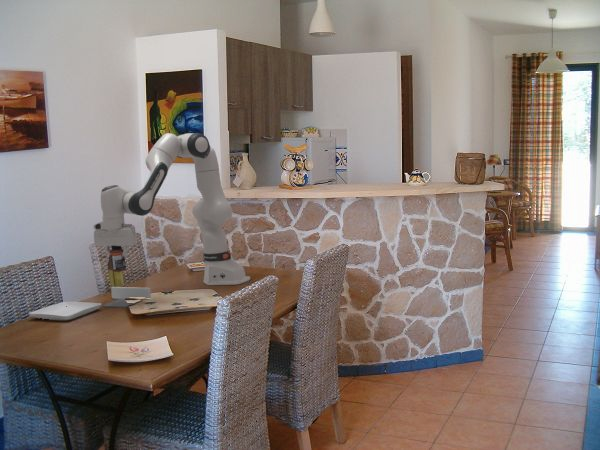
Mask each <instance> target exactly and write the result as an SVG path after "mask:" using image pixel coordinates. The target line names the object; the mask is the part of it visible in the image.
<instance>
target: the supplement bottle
mask: <svg viewBox="0 0 600 450" xmlns="http://www.w3.org/2000/svg"><path fill="white" fill-rule="evenodd" d="M110 248H112V250H111V251H110V259H111V267H112V271H113V272H121V271H122V272H123V271H126V270H127V265H126V258H125V257H126V256H122V252H123V251H124V249H123V247H122V246H110Z"/></svg>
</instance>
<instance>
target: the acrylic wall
mask: <svg viewBox="0 0 600 450" xmlns="http://www.w3.org/2000/svg"><path fill="white" fill-rule="evenodd" d="M110 291H111V298H112V299H116V300H118V299H125V298H129V297H145V298H151V299H152V297H151V296H152V295H151V287H138V286H137V287H131V286H130V287H129V286H124V287H111V286H110Z"/></svg>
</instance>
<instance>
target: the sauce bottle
mask: <svg viewBox="0 0 600 450" xmlns="http://www.w3.org/2000/svg"><path fill="white" fill-rule="evenodd" d="M110 250H112V247H110ZM107 269H108V276H109V284H110V285H109V286H110V288H111V287H125V282H124V281H125V280H124V275H123V274H124V273H123V271H121V272H113V271H112V267H111V259H110V256H108V262H107Z"/></svg>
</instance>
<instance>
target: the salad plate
mask: <svg viewBox="0 0 600 450" xmlns="http://www.w3.org/2000/svg"><path fill="white" fill-rule="evenodd" d="M102 304H103V303H101V302H100V303H99V302H83V301H63V302H59V303H58V302H57V303H55V304H52V305H49V306H45V307H43V308H40V309H36V310H34V311H31V312H28V315H29V316H31V317H32V318H36V319H40V318H42V319H41V320H44V319H49V320H48V321H60V322H61V321H71V320H75V319H77V318H79V317H82V316H85V315H88V314H91V313H92V312H94V311H96V310H98V309H99V308H100V307H102ZM66 306H67V307H66Z"/></svg>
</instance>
